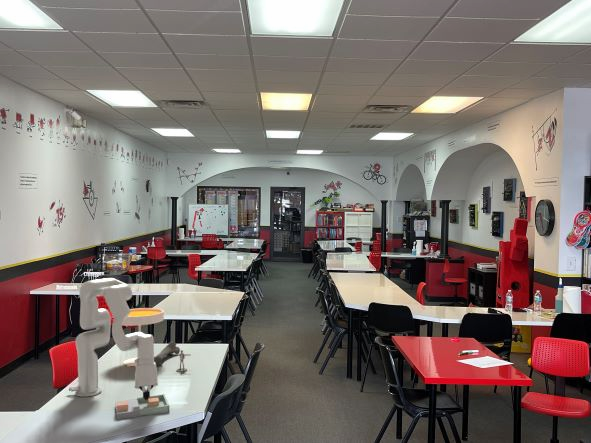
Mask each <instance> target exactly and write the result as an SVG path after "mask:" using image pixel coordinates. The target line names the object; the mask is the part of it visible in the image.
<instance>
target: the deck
mask: <svg viewBox="0 0 591 443" xmlns="http://www.w3.org/2000/svg"><path fill="white" fill-rule="evenodd" d="M123 401H128V410H124V411H117V410H116V402H123ZM114 404H115V407H114V408H115V413H116V414H115V415H116V420H123V419H128V418H134V417H141V416H140V408H139V404H138V400H137V398H132V399H125V400H117V401H115V403H114Z"/></svg>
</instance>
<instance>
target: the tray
mask: <svg viewBox="0 0 591 443" xmlns="http://www.w3.org/2000/svg"><path fill="white" fill-rule="evenodd" d="M150 398H158V399H159V406H156V407H148V403H147V400H145V399H144V398H143V396H141V397H140V396H139V397H137V398H136V399H137V400H138V404H139V408H140V416H139V417H144V416H149V415H156V414H158V415H159V414H165V413H170V404H169V402H168V398H167V397H166V394H165V393H163V394H156V395H155V394H154V395H150V397H149V398H148V399H150Z"/></svg>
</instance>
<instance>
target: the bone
mask: <svg viewBox="0 0 591 443" xmlns="http://www.w3.org/2000/svg"><path fill="white" fill-rule="evenodd" d="M180 353H181V349H180V347H179V346H177V343H176V342H175V341H170V342H168V344H167V345H166V346H165V347H164V348H163V349H162V350H161V351H159V353H158V354H157V355H156V356H154V362H155V363H156V367H158V366H162V365H163V359H164V358H165V357H166V356H168V355H173V354H180Z"/></svg>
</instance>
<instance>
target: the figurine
mask: <svg viewBox="0 0 591 443" xmlns="http://www.w3.org/2000/svg"><path fill="white" fill-rule="evenodd" d="M172 355H173V356H178V357H179V360H180V361H179V368H177V369H176V371H175V372H176V373H186V372H188V369H187V368H185V364H184V363H185V362H184V360H185V357H186V356H188V357H189V356H191V353H189V354H187V353H184V350H182V349H180V353H179V354H175V353H173V354H172Z"/></svg>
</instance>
